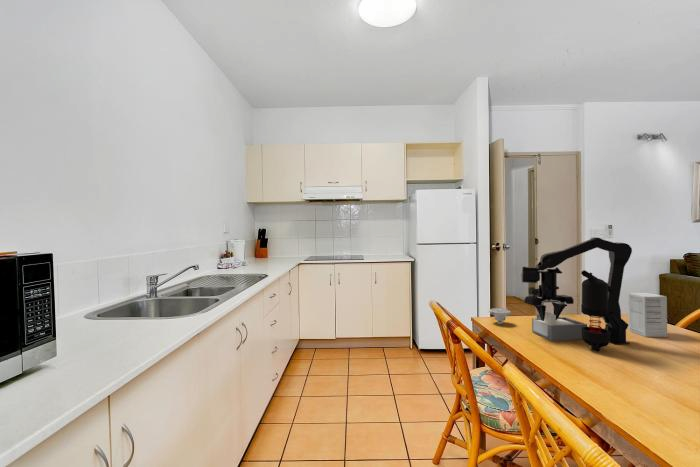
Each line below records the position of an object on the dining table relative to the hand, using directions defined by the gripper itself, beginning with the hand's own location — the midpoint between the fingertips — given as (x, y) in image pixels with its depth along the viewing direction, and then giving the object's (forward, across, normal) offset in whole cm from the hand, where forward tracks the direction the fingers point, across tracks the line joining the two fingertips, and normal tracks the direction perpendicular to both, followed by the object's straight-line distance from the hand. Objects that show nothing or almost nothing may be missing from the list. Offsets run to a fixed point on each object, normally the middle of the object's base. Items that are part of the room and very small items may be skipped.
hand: (549, 320), depth 146 cm
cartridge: (+5, -3, 0) cm, 6 cm away
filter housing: (+7, -5, -3) cm, 9 cm away
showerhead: (+7, +10, -21) cm, 24 cm away
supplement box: (+7, -42, +4) cm, 43 cm away
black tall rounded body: (+7, -6, +18) cm, 20 cm away
